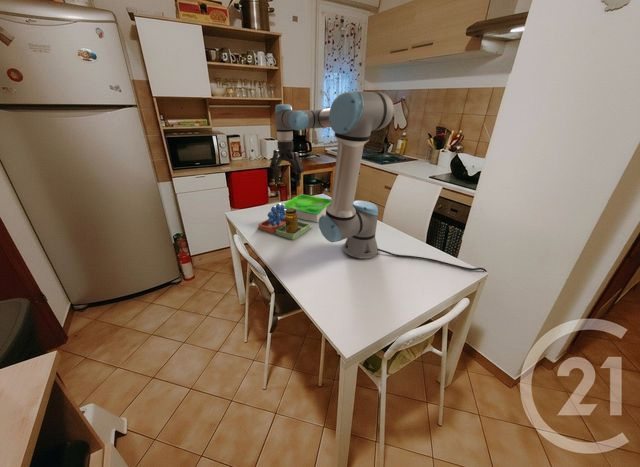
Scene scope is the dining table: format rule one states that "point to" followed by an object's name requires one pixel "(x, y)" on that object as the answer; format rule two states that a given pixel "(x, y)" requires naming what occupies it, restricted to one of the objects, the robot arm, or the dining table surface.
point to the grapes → (276, 214)
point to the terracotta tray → (270, 226)
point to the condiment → (291, 221)
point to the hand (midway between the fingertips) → (287, 184)
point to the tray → (308, 207)
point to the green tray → (292, 236)
